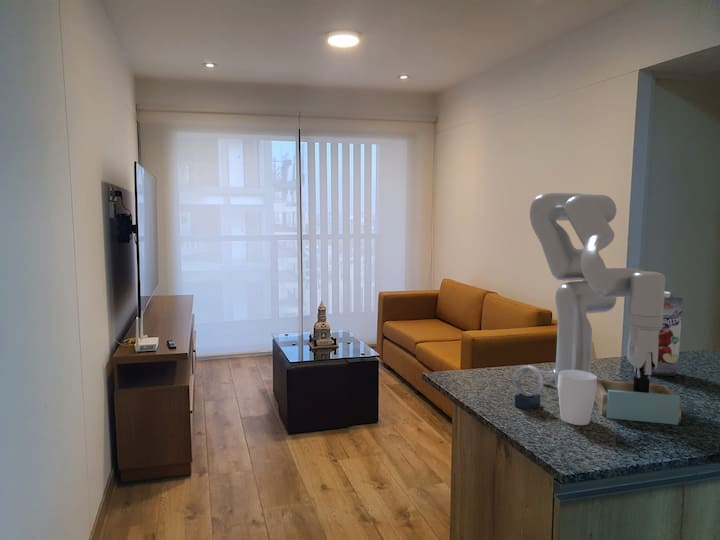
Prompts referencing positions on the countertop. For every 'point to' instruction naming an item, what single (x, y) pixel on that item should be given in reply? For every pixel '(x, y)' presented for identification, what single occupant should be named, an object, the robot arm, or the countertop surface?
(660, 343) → the juice carton
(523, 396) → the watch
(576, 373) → the cup
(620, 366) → the countertop surface
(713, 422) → the countertop surface
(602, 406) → the crate
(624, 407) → the panel
